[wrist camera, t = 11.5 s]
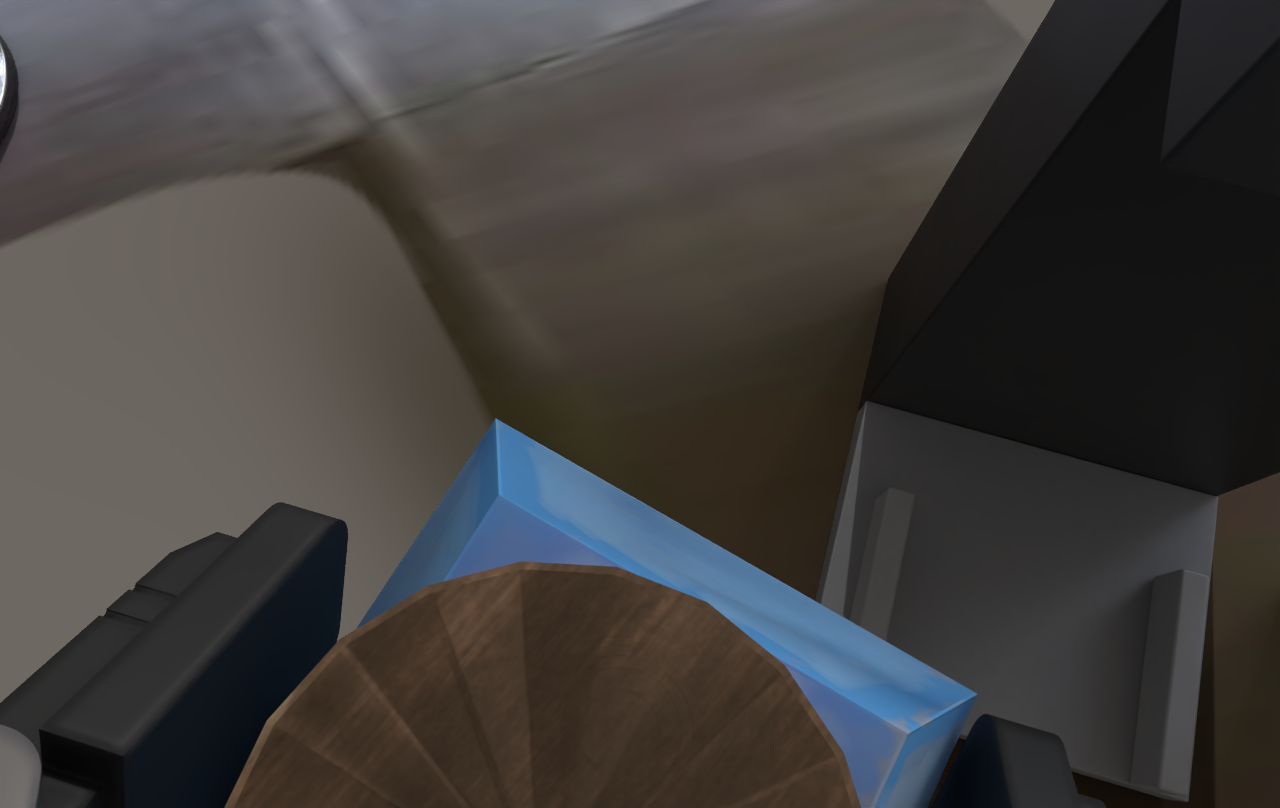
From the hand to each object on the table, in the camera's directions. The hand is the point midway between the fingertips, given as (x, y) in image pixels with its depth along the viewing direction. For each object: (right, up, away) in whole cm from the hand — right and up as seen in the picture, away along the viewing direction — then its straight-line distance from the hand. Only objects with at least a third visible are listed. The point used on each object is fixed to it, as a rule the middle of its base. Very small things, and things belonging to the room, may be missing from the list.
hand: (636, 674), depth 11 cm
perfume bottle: (-1, -3, +5) cm, 6 cm away
